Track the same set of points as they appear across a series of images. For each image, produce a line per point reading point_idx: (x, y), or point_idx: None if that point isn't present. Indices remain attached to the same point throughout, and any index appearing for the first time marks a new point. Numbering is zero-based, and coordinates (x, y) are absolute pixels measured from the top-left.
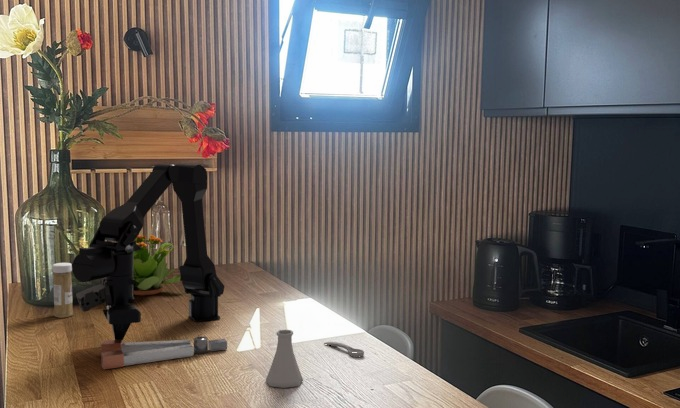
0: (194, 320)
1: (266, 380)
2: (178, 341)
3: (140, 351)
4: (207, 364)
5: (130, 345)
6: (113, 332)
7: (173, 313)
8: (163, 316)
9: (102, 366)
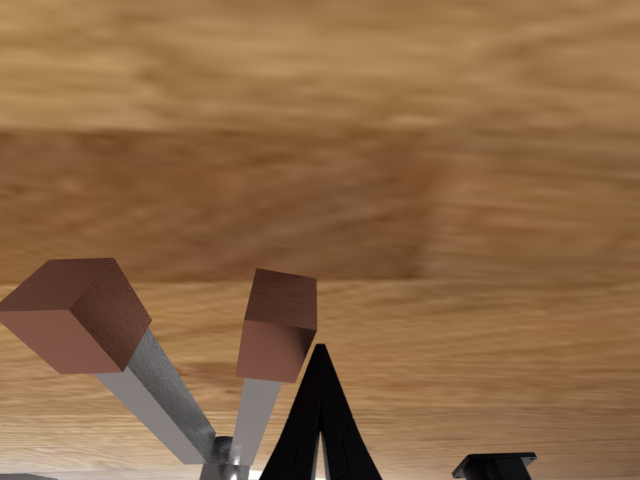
0: (477, 455)
1: (17, 476)
2: (242, 453)
3: (149, 398)
4: (133, 438)
5: (244, 382)
6: (327, 397)
7: (593, 435)
8: (592, 422)
9: (64, 264)
